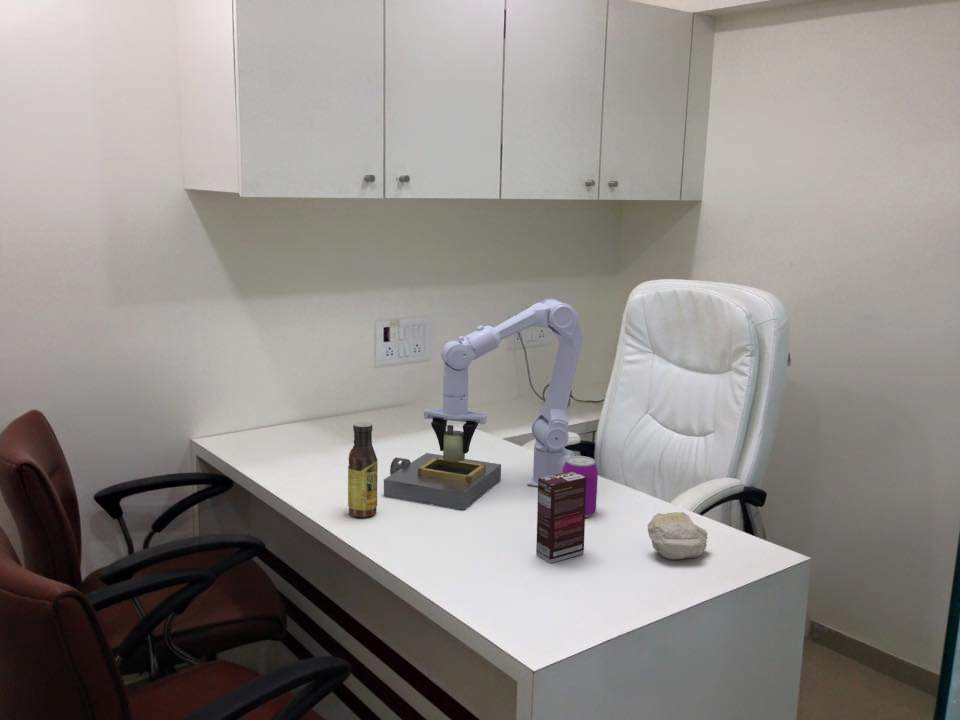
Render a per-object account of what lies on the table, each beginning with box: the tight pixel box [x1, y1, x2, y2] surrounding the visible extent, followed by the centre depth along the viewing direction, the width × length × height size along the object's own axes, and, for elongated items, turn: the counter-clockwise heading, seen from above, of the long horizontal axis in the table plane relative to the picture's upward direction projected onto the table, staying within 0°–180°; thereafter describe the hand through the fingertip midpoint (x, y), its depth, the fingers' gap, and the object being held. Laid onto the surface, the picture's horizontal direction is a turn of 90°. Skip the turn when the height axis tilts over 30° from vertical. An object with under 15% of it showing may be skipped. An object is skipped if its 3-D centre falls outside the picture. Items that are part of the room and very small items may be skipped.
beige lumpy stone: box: [647, 511, 708, 561], centre depth 169 cm, size 12×8×10 cm
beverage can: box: [563, 455, 599, 518], centre depth 189 cm, size 8×8×12 cm
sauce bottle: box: [347, 421, 378, 519], centre depth 185 cm, size 6×6×20 cm
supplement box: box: [535, 471, 586, 564], centre depth 167 cm, size 9×5×16 cm, turn 123°
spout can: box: [442, 424, 466, 462], centre depth 200 cm, size 5×5×8 cm
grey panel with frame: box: [383, 452, 502, 511], centre depth 204 cm, size 23×22×6 cm
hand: (454, 451), depth 201 cm, fingers closed on spout can, 5 cm apart
